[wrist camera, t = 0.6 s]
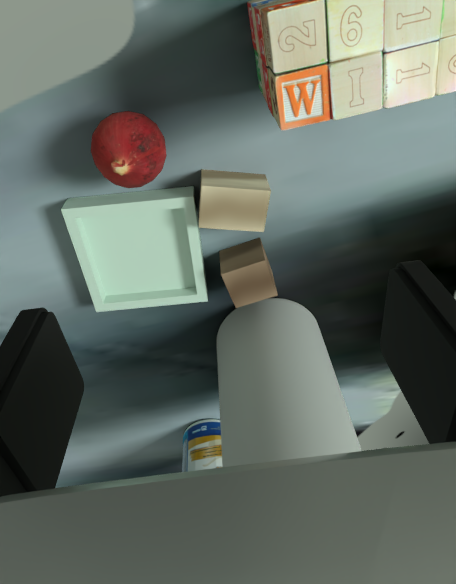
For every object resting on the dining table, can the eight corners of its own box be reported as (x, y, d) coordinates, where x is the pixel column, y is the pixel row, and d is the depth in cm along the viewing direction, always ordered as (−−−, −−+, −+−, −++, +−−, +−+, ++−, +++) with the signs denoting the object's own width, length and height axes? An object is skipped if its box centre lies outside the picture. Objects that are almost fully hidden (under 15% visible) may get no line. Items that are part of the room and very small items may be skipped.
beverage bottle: (170, 438, 63) (161, 594, 47) (205, 409, 59) (207, 567, 43) (214, 456, 66) (219, 607, 50) (249, 429, 63) (267, 583, 47)
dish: (67, 198, 40) (60, 209, 38) (193, 186, 40) (193, 196, 38) (100, 298, 47) (96, 311, 45) (207, 288, 47) (207, 301, 45)
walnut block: (219, 250, 44) (220, 274, 40) (259, 236, 43) (265, 260, 40) (233, 283, 47) (236, 308, 43) (271, 270, 46) (277, 295, 42)
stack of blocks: (538, -70, 30) (706, -96, 20) (519, 31, 34) (653, 51, 24) (244, 1, 31) (265, 10, 22) (257, 90, 35) (280, 133, 25)
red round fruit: (144, 87, 34) (131, 111, 28) (180, 149, 37) (177, 184, 31) (87, 123, 36) (62, 153, 29) (127, 179, 39) (113, 218, 32)
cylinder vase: (309, 369, 56) (371, 587, 36) (215, 370, 55) (224, 595, 35) (325, 294, 48) (416, 516, 28) (217, 294, 47) (230, 523, 27)
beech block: (201, 168, 39) (201, 185, 36) (264, 174, 39) (270, 190, 36) (198, 208, 41) (198, 227, 38) (258, 212, 42) (263, 231, 39)
